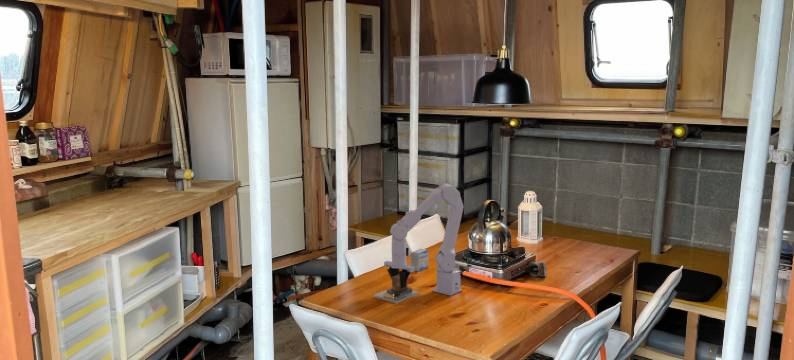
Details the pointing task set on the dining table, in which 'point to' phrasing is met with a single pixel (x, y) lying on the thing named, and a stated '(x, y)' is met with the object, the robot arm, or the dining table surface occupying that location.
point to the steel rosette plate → (396, 295)
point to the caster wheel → (536, 269)
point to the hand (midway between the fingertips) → (399, 286)
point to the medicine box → (419, 259)
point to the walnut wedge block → (397, 284)
